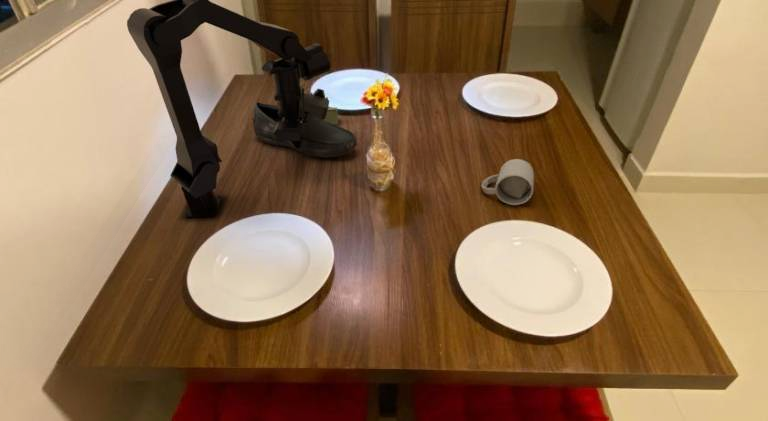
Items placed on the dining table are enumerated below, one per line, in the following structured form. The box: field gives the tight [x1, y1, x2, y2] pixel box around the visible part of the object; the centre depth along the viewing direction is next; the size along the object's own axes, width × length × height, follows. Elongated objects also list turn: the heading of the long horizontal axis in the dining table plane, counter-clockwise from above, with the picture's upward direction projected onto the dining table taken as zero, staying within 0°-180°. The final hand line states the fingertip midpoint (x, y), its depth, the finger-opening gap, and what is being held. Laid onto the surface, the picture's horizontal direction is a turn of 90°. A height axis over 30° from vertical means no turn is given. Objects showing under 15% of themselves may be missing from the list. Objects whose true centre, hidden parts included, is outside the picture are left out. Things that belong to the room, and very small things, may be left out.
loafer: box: [252, 101, 358, 159], centre depth 111 cm, size 10×29×10 cm, turn 71°
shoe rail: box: [324, 107, 339, 126], centre depth 121 cm, size 2×18×5 cm, turn 93°
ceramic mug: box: [481, 158, 535, 206], centre depth 95 cm, size 11×8×8 cm
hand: (298, 147), depth 107 cm, fingers closed
